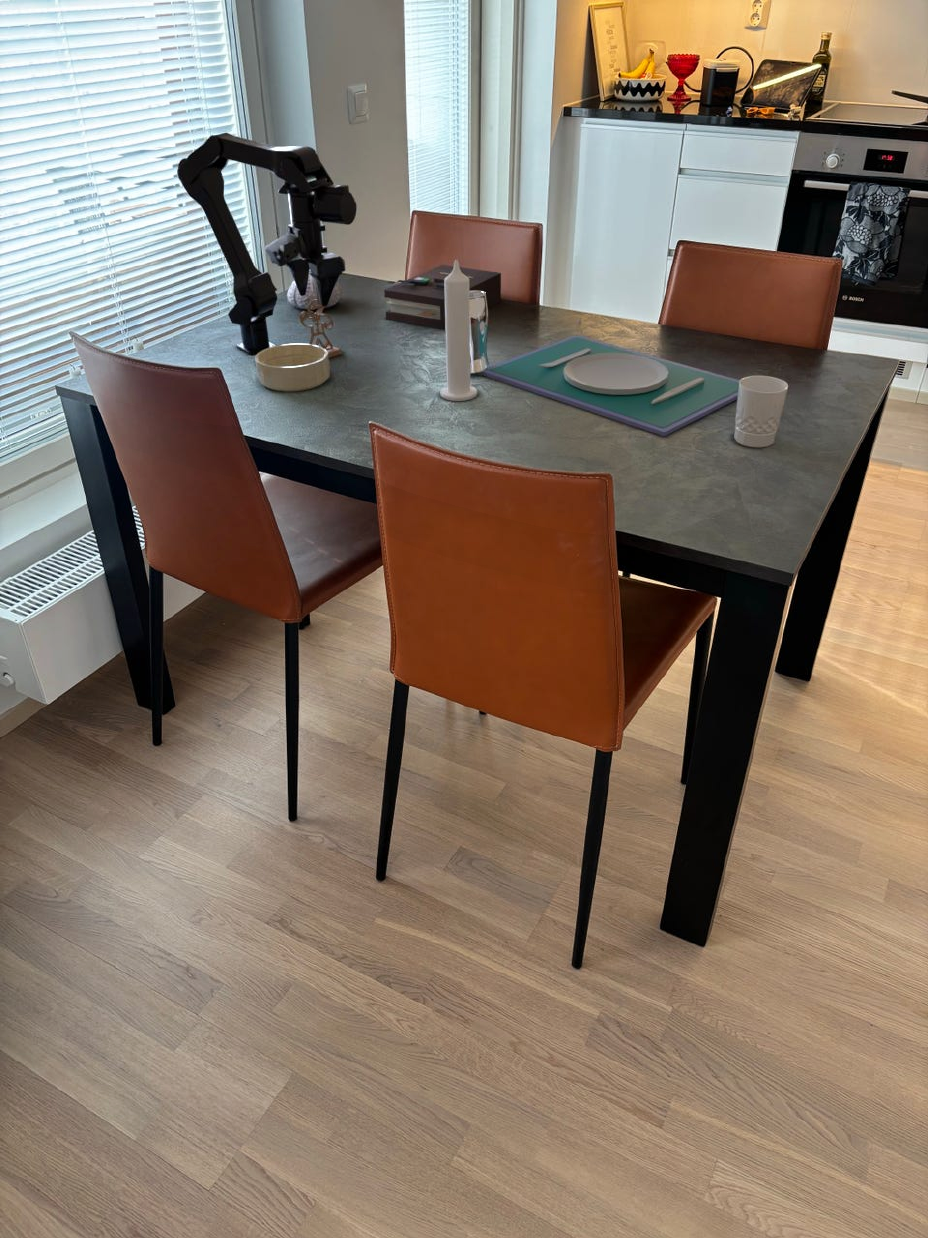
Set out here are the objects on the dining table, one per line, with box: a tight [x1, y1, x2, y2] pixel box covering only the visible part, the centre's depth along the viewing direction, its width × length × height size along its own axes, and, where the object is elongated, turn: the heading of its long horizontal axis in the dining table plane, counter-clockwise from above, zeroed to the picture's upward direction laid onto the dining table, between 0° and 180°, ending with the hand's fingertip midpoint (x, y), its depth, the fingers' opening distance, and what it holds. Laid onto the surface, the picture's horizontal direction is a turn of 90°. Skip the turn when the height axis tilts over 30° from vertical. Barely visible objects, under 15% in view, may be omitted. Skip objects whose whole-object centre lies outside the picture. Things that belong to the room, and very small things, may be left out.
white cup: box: [733, 375, 789, 448], centre depth 159 cm, size 8×8×10 cm
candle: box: [439, 259, 478, 402], centre depth 174 cm, size 7×7×25 cm
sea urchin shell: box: [286, 270, 343, 310], centre depth 229 cm, size 13×14×8 cm
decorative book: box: [383, 264, 502, 330], centre depth 224 cm, size 19×8×30 cm
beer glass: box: [469, 290, 490, 375], centre depth 187 cm, size 7×7×15 cm
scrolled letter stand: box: [299, 299, 343, 359], centre depth 196 cm, size 9×4×12 cm, turn 136°
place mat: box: [480, 334, 741, 437], centre depth 184 cm, size 45×30×2 cm
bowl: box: [254, 342, 331, 392], centre depth 187 cm, size 14×14×5 cm
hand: (313, 300), depth 192 cm, fingers open, 9 cm apart
